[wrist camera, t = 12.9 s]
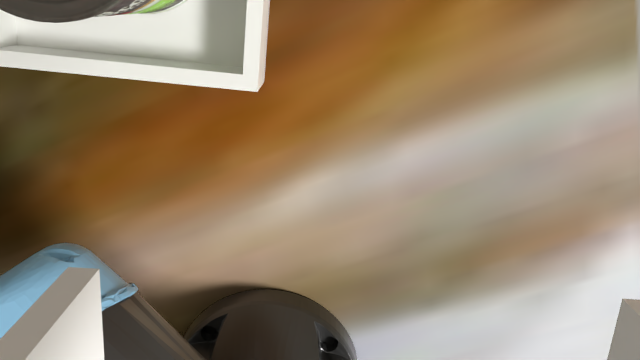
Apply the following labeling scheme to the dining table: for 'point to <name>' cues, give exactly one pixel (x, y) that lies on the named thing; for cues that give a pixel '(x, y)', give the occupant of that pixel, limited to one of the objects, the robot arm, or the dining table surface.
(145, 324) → the robot arm
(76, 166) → the dining table surface
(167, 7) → the coffee can
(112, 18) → the bin
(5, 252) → the dining table surface
